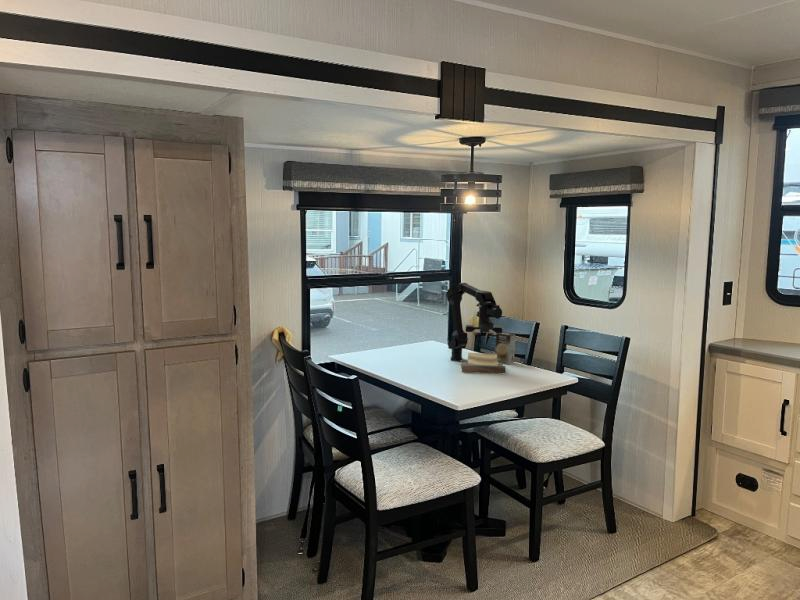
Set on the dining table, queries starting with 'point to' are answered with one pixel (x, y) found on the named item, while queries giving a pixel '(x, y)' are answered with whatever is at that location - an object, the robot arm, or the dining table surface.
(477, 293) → the robot arm
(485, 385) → the dining table surface
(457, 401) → the dining table surface
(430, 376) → the dining table surface
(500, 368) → the floor board
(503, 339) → the coffee box
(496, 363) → the tan rectangular panel
